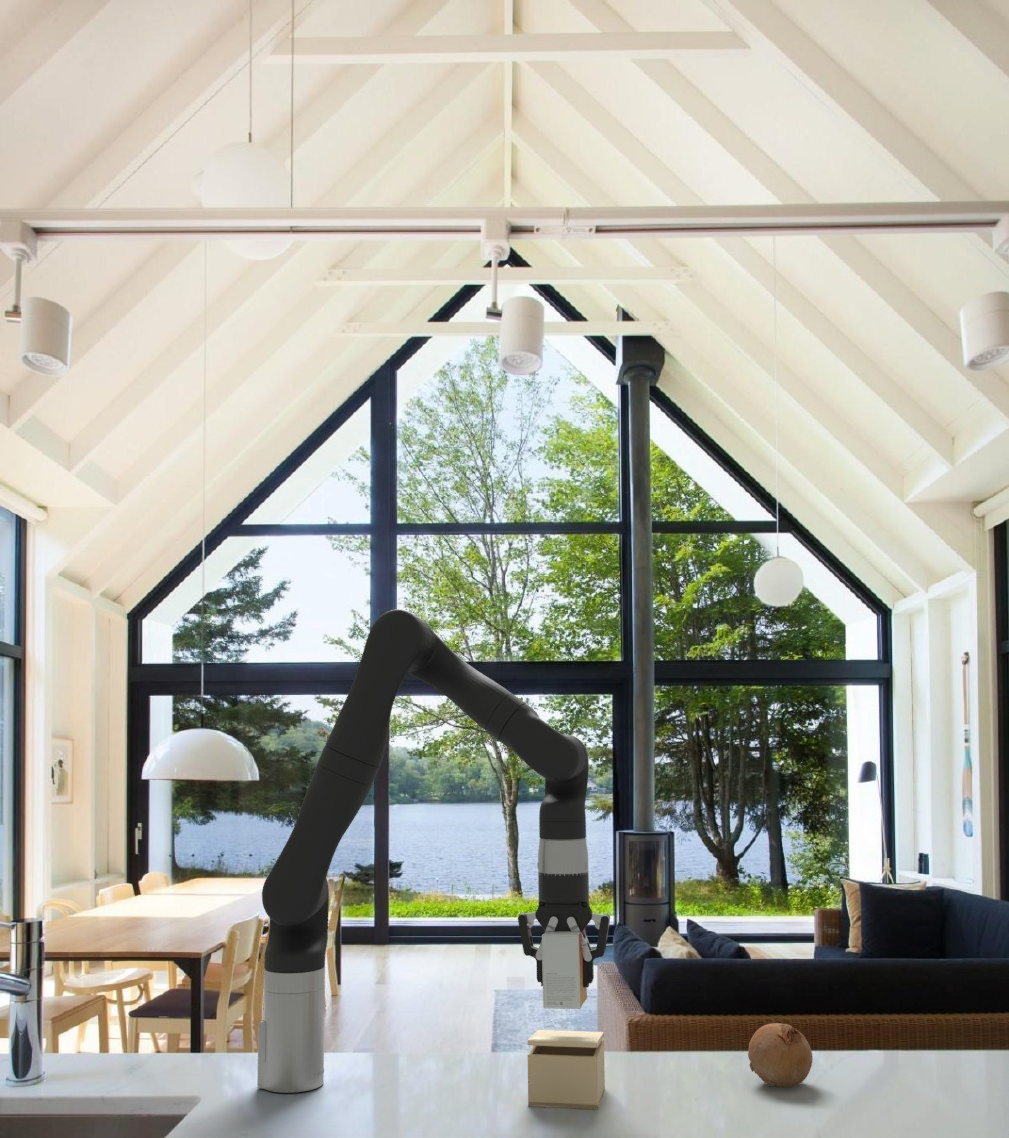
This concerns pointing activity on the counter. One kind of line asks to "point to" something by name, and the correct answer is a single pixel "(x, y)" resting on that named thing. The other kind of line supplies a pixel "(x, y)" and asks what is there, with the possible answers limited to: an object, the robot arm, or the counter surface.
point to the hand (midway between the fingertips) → (565, 985)
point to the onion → (780, 1055)
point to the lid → (566, 1038)
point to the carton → (566, 1076)
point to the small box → (563, 970)
